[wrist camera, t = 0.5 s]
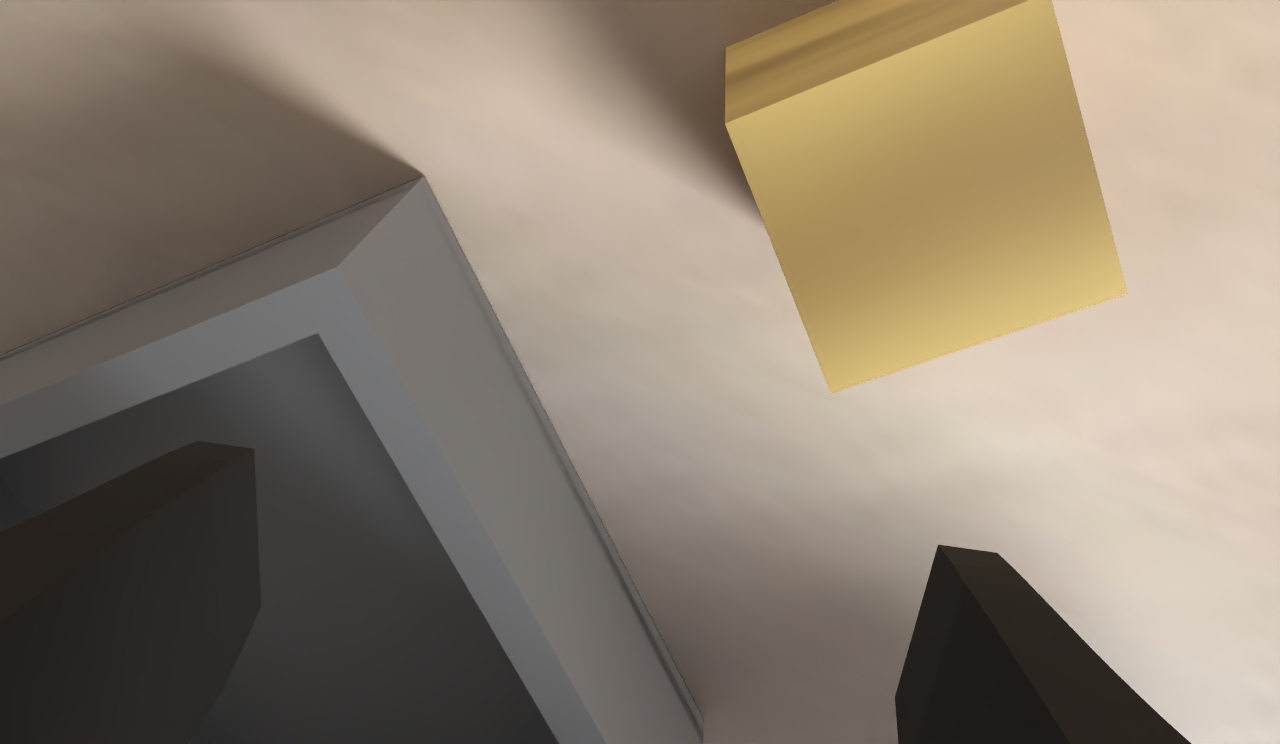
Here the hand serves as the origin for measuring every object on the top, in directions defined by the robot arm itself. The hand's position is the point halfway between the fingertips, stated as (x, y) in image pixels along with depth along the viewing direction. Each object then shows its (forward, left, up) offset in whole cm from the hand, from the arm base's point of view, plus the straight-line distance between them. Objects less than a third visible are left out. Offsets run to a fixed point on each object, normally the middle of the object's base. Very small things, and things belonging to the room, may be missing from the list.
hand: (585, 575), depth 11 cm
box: (-4, +9, -10) cm, 14 cm away
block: (+1, -5, -10) cm, 11 cm away
